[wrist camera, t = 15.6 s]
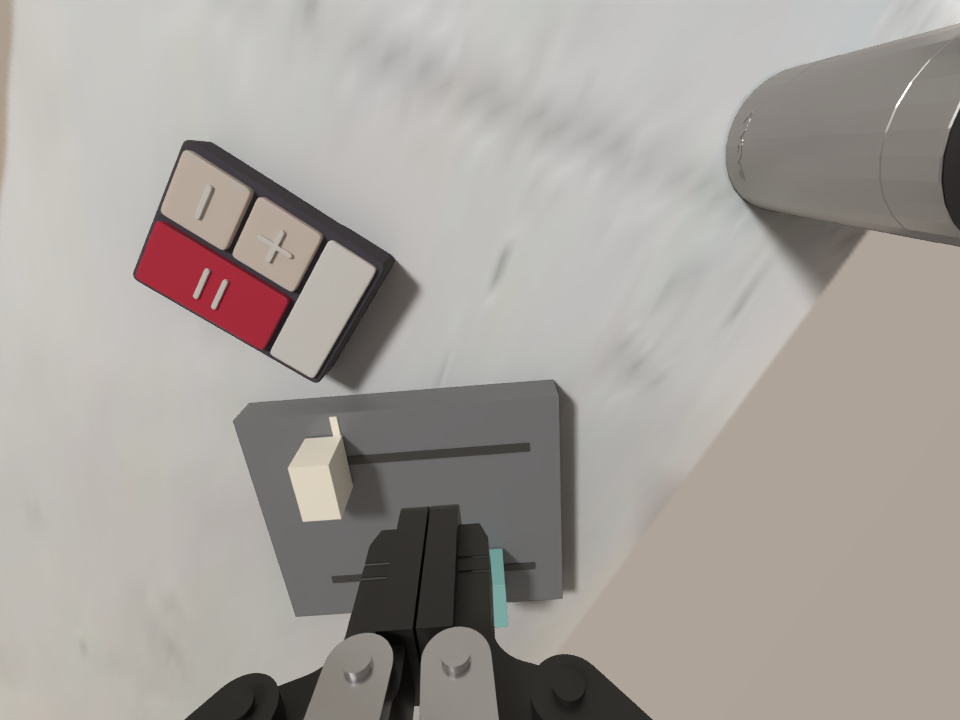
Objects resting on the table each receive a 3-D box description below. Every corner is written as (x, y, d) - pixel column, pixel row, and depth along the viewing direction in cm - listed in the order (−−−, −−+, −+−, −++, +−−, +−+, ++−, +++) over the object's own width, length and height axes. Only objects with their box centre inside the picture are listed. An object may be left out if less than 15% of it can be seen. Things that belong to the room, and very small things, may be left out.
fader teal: (502, 548, 44) (504, 584, 40) (505, 588, 46) (508, 626, 42) (469, 550, 44) (468, 587, 40) (474, 591, 46) (474, 629, 42)
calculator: (176, 135, 30) (384, 268, 33) (214, 139, 34) (397, 257, 37) (122, 280, 34) (313, 389, 37) (162, 268, 38) (332, 368, 41)
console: (553, 379, 41) (559, 396, 38) (557, 573, 50) (562, 599, 47) (248, 403, 42) (232, 421, 39) (305, 591, 50) (295, 617, 47)
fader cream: (341, 435, 39) (328, 465, 35) (353, 486, 41) (341, 519, 37) (305, 438, 39) (287, 468, 36) (318, 489, 41) (302, 521, 38)
